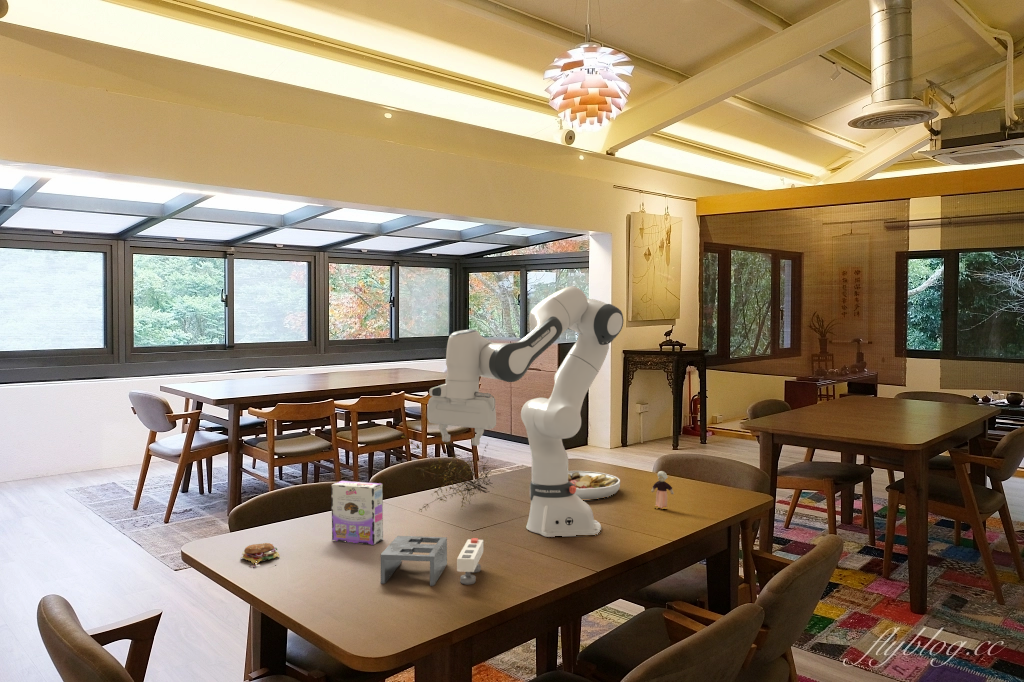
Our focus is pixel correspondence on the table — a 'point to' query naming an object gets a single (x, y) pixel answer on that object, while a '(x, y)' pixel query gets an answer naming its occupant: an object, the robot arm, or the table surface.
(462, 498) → the dried plant
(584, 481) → the bowl
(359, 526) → the candy box
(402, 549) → the grey stepped cutout plate
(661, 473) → the grandmother figurine
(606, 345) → the robot arm
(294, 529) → the table surface
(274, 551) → the hamburger
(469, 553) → the power strip
